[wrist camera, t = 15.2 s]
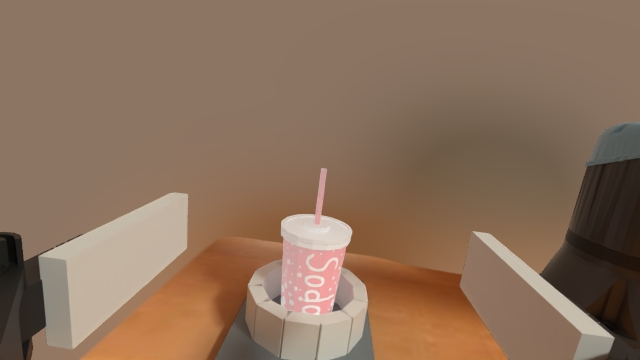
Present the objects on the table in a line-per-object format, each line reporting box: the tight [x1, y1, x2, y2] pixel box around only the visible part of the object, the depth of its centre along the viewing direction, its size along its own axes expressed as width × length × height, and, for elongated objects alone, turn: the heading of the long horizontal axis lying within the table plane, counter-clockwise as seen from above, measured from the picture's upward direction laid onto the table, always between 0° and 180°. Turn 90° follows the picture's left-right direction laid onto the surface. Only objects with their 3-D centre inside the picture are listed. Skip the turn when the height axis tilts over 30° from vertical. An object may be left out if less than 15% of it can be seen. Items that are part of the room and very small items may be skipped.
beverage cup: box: [281, 168, 352, 315], centre depth 27 cm, size 6×6×14 cm
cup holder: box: [215, 259, 375, 360], centre depth 29 cm, size 12×16×4 cm
